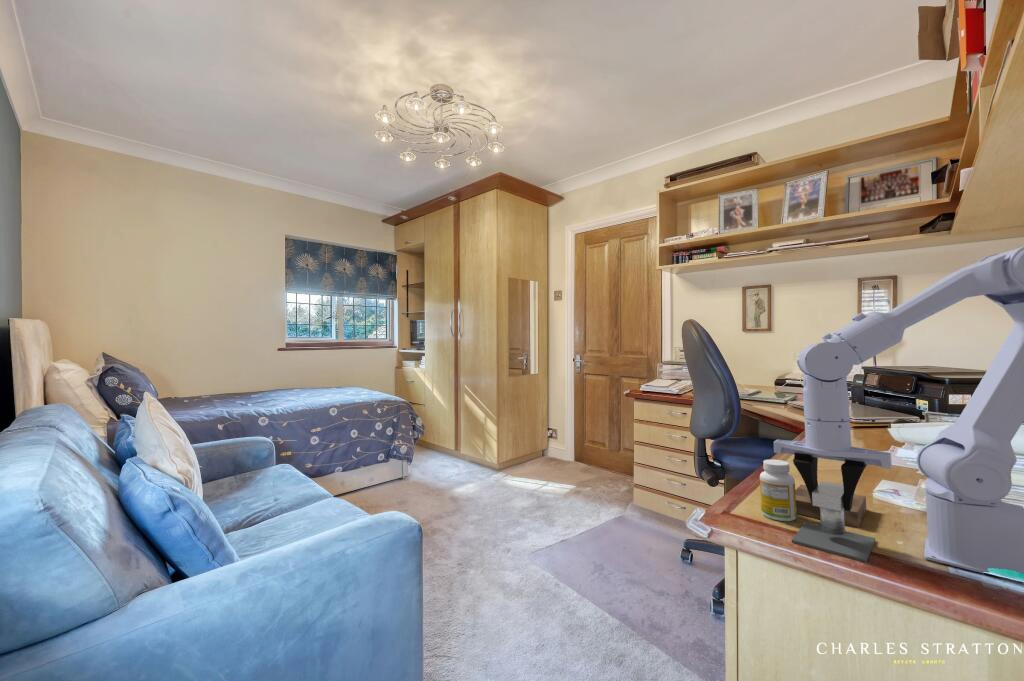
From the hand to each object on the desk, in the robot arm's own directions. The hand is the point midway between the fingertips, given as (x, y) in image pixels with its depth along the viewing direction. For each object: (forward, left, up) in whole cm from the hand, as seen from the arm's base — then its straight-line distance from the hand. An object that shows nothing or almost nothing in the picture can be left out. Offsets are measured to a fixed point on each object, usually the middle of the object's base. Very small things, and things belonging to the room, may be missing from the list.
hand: (831, 505), depth 64 cm
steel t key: (0, 0, -4) cm, 4 cm away
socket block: (+3, -14, -6) cm, 15 cm away
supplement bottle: (+9, -6, -6) cm, 12 cm away
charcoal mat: (0, 0, -6) cm, 6 cm away
